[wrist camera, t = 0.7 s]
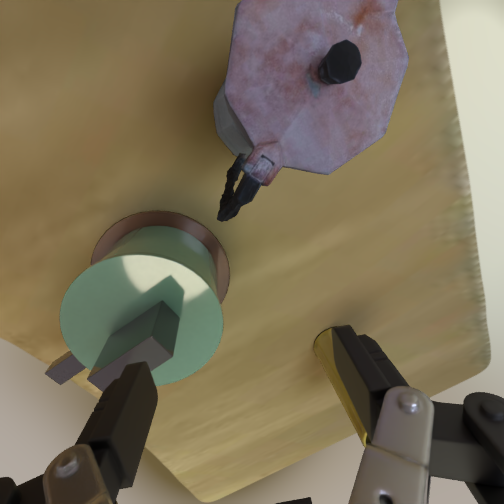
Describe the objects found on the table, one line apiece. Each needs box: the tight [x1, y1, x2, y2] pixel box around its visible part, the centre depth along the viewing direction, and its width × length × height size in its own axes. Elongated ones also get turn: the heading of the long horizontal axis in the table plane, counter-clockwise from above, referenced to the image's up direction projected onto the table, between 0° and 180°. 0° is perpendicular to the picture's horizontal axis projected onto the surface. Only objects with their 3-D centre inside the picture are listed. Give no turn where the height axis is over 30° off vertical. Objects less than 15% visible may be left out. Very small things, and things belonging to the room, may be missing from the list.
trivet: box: [91, 211, 230, 304], centre depth 35 cm, size 16×16×1 cm
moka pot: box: [213, 0, 409, 222], centre depth 21 cm, size 10×15×20 cm, turn 150°
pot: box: [45, 226, 223, 392], centre depth 28 cm, size 19×14×15 cm
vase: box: [314, 328, 371, 447], centre depth 36 cm, size 6×6×14 cm
